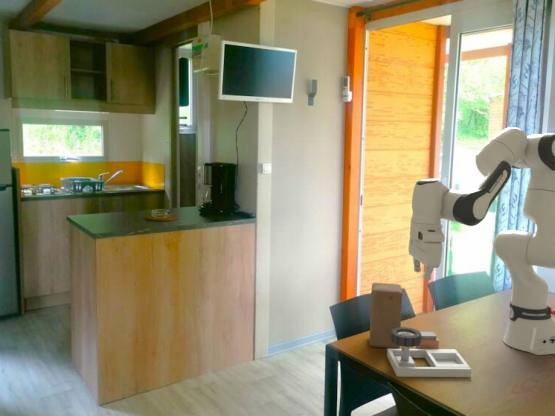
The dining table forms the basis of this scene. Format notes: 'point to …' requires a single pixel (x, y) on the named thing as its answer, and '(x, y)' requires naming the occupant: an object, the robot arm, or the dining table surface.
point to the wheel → (406, 337)
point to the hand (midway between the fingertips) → (421, 275)
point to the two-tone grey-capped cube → (428, 341)
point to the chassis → (438, 359)
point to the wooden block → (385, 313)
